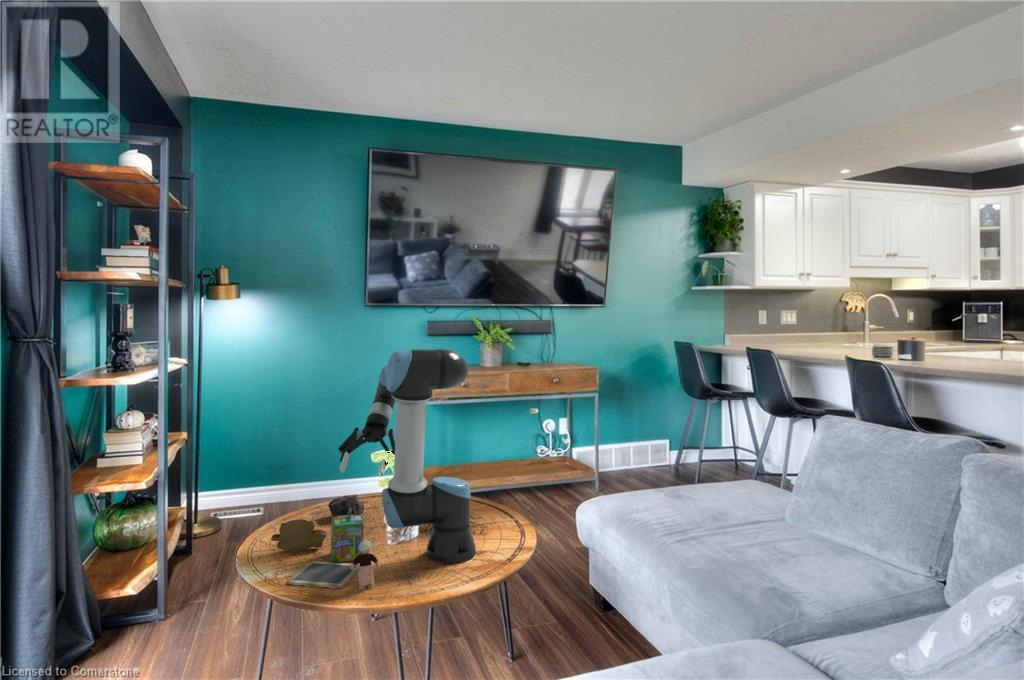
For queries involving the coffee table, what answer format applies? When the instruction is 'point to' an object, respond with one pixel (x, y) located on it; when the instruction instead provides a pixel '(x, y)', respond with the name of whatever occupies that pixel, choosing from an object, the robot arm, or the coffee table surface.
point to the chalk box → (346, 537)
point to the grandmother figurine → (365, 565)
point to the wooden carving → (298, 536)
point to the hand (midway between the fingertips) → (361, 472)
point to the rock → (346, 505)
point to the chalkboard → (324, 574)
